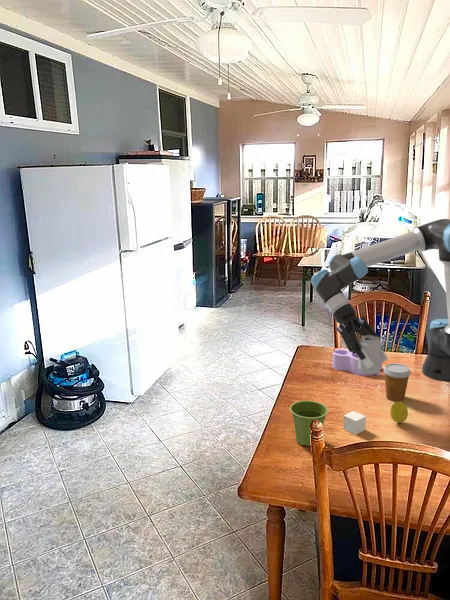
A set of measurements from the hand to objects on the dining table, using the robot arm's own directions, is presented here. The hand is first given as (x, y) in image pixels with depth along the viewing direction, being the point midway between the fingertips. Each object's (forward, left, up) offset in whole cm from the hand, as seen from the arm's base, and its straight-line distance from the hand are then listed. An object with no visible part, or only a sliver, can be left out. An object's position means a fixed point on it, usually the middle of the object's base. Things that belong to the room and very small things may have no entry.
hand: (378, 363), depth 168 cm
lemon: (-5, +7, -19) cm, 21 cm away
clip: (-10, -40, -19) cm, 46 cm away
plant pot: (+28, +12, -19) cm, 36 cm away
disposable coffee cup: (-13, -11, -19) cm, 26 cm away
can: (+2, -3, -4) cm, 5 cm away
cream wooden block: (+11, +8, -19) cm, 24 cm away
